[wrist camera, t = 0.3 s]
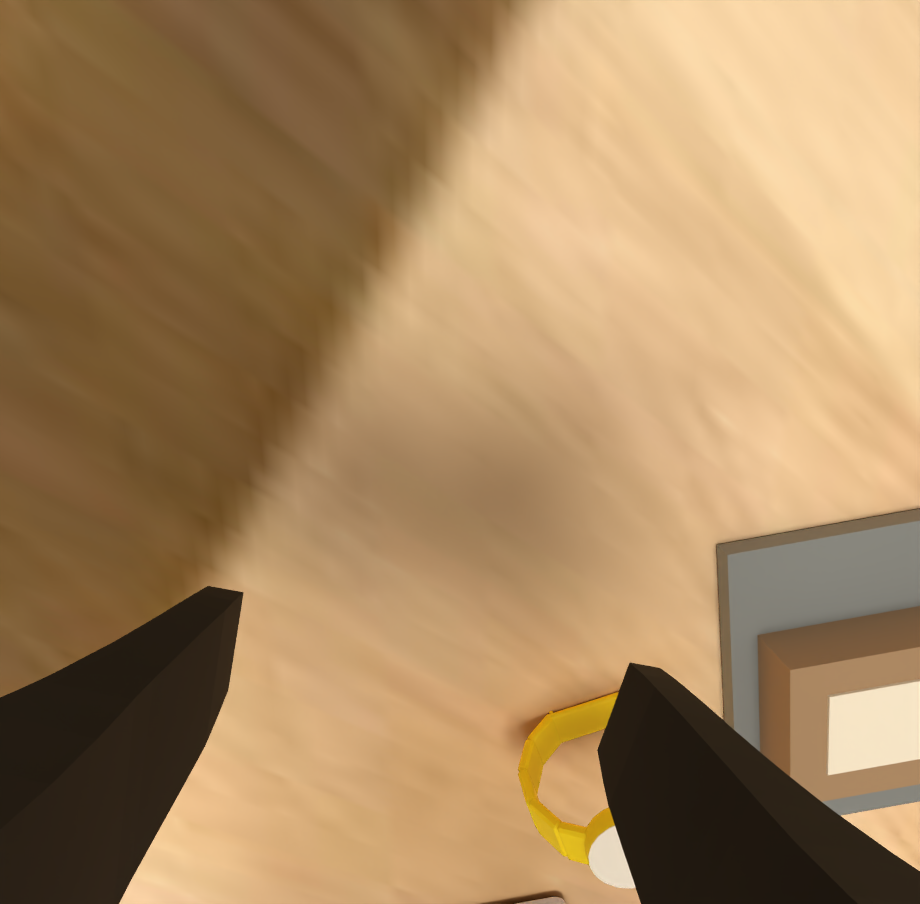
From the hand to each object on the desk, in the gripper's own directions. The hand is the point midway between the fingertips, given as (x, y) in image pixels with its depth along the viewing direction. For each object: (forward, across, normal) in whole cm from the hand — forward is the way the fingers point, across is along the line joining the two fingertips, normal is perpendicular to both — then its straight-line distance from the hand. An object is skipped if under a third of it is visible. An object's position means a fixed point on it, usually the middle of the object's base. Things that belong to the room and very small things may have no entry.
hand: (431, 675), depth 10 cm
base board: (+10, -18, +4) cm, 21 cm away
